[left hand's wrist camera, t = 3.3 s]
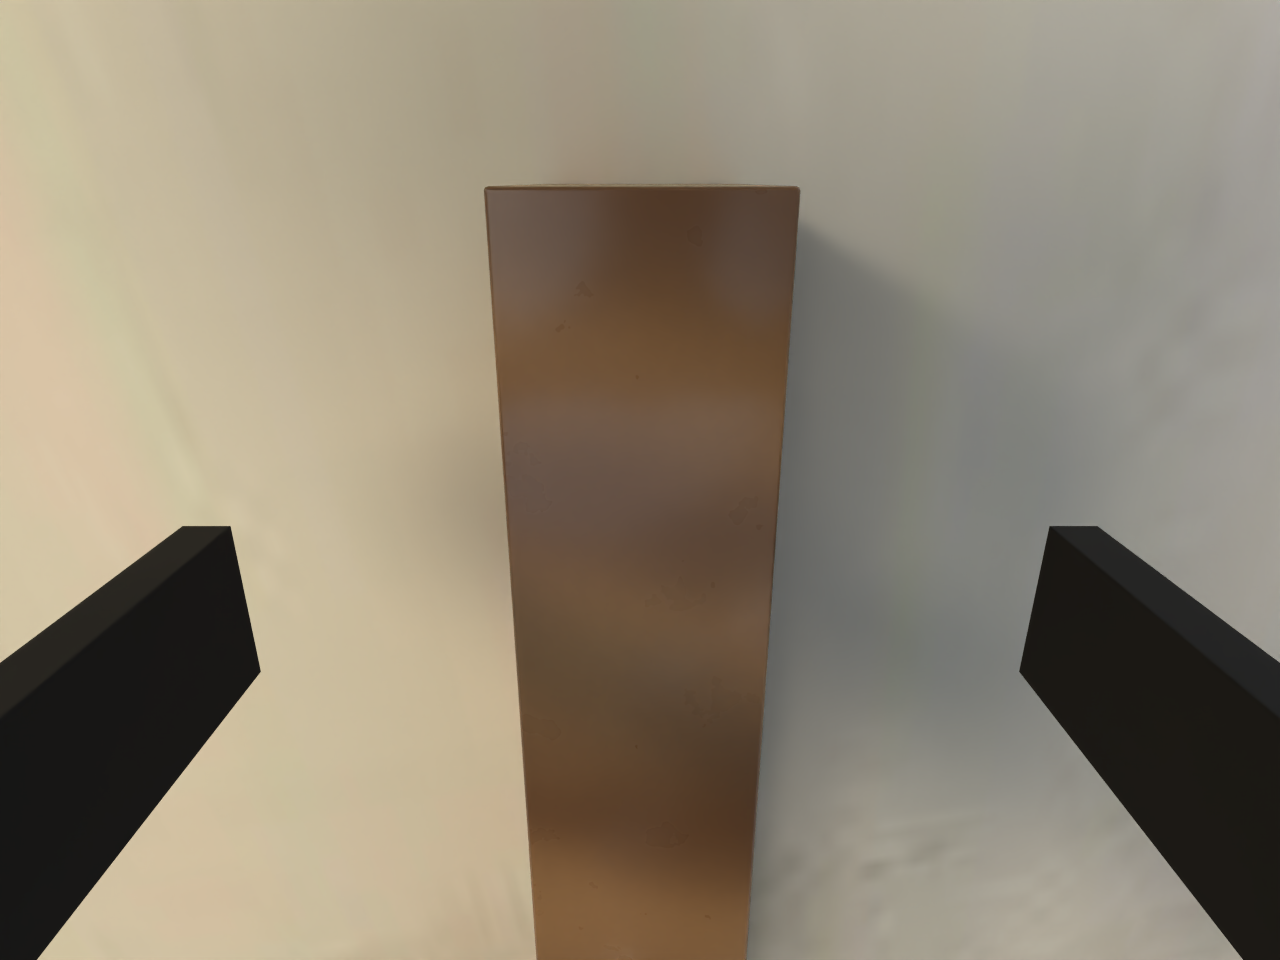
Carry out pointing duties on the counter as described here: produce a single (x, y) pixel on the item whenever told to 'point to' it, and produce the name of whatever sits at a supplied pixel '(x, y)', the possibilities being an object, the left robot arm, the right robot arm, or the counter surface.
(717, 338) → the bar
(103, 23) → the counter surface
